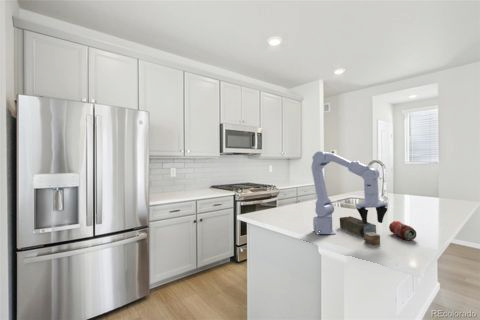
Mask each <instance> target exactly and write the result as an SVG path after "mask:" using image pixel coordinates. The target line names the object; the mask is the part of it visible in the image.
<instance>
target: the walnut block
mask: <svg viewBox="0 0 480 320" xmlns="http://www.w3.org/2000/svg"><path fill="white" fill-rule="evenodd" d="M364 243H366V244H367V245H369V246H381V235H380V234H378V233H377V232H376V233H374V232H370V233H365V237H364Z"/></svg>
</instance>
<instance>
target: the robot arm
mask: <svg viewBox="0 0 480 320" xmlns="http://www.w3.org/2000/svg"><path fill="white" fill-rule="evenodd" d="M360 161H361V160H360ZM360 161H359V160H353V161H350V160H348V159H346V158H344V157H341V156H340V155H337V154H336V153H333V152H330V151H316V152H315V153H314V154H313V155H312V161H311V162H312V163H311V173H312V177H313V183H314V187H315V192H316V199H317V200H316V201H315V209H314V210H315V214H316V215H317V216H314V217H313V219H312V220H313V222H312V223H313V224H312V225H313V227H312V228H313V230H314V231H315V232H316V234H317V233H318V234H330V235H336V234H337V233H336V232H334V231H333V213H334V212H335V207H334V205H333V204H332V201H331V199H330V198H329V197H328V192H327V186H326V181H325V177H324V173H323V172H324V171H323V169H324V168H325V166H326V165H328V164H329V163H330V162H332V163H335V164H338V165H340V166H343V167H345V168H347V170H348V171H349V172H351V173H352V174H355V175H357V176H358V177H360V178H362V180H363V184H364V185H363V186H364V187H363V190H364V191H363V192H364V194H363V195H364V202H360V203H356V204H355V208H356V210H357V212H358V214H359V215H360V219H361V220H362V222H363V223H364V224H367V222H368V212H369V209H367V208H370V209H371V208H375V210H376V218H377V219H376V220H377V223H379V224H382V223H383V222H384V217H385V215H386V213H387V211H388V207H389V206H388V202H385V201H383V202H381V201H380V199H379V182H378V181H379V178H380V172H379V170H378V169H377V168H375V167H370V165H365V164H363V163H360ZM379 201H380V202H379ZM314 231H313V232H314ZM319 231H320V232H319ZM315 232H314V233H315ZM318 234H317V235H318Z"/></svg>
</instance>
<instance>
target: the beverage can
mask: <svg viewBox="0 0 480 320" xmlns="http://www.w3.org/2000/svg"><path fill="white" fill-rule="evenodd" d="M388 229H389V232H391V233H392V234H394V235H395V236H398V237H400V238H402V239H403V240H406V241H413V240H415V239H416V238H417V231H416V230H415V229H414V228H413V227H412V226H410V225H408V224H405V223H403V222H401V221H398V220H395V221H391V223H389V226H388Z"/></svg>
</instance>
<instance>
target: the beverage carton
mask: <svg viewBox="0 0 480 320" xmlns="http://www.w3.org/2000/svg"><path fill="white" fill-rule="evenodd" d="M340 227H341V229H343V230H345V231H348V232H350V233H352V234H355V235H357V236H360V237H362V238H365V233H370V232H374V233H376V234H377V225H376V224H374V223H371V222H368V221H367V224H364V223H363V222H362V219H361V218H357V217H353V216H351V215H350V216H349V215H348V216H344V217H339V228H340Z"/></svg>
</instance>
